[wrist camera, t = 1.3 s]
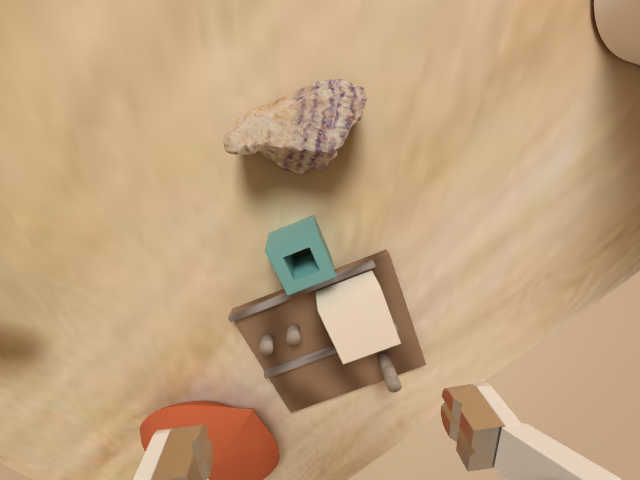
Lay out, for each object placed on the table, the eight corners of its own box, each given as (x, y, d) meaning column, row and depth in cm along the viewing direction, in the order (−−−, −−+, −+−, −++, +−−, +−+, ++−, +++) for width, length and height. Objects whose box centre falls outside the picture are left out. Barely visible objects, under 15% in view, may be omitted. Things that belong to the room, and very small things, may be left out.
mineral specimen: (259, 189, 32) (251, 205, 26) (226, 122, 29) (209, 123, 23) (371, 142, 31) (388, 147, 25) (347, 68, 28) (361, 54, 22)
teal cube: (313, 215, 33) (317, 230, 28) (331, 256, 35) (336, 276, 30) (269, 233, 33) (264, 251, 29) (288, 272, 35) (287, 295, 31)
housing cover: (371, 270, 34) (380, 286, 31) (391, 322, 37) (401, 343, 34) (315, 291, 35) (317, 310, 31) (338, 341, 38) (343, 364, 34)
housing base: (385, 249, 35) (403, 273, 29) (422, 358, 42) (442, 395, 36) (231, 308, 36) (219, 343, 31) (290, 405, 43) (290, 448, 37)
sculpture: (314, 463, 38) (247, 513, 42) (313, 414, 44) (255, 463, 48) (172, 400, 32) (112, 466, 37) (193, 354, 38) (139, 416, 42)
